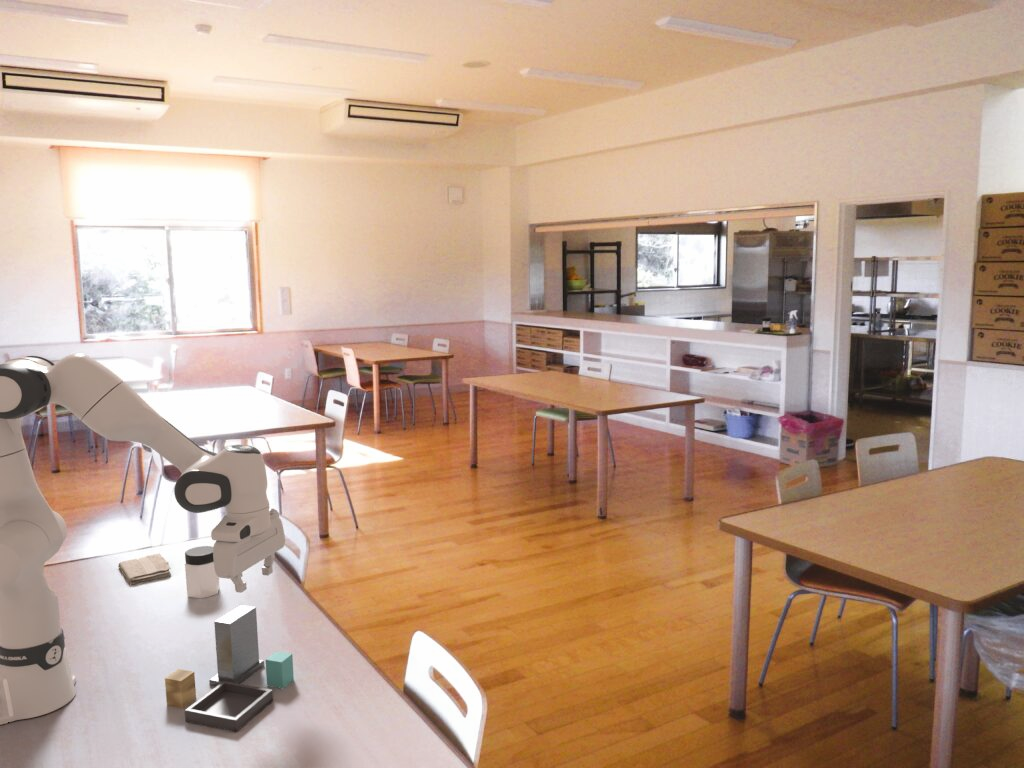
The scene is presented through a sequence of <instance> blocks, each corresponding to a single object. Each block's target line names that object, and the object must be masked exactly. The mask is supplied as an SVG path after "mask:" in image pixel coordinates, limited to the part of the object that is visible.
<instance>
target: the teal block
mask: <svg viewBox="0 0 1024 768" xmlns="http://www.w3.org/2000/svg"><path fill="white" fill-rule="evenodd" d="M293 661H294V660H293V653H289V652H285V651H284V652H283V651H275V652H273V653H272V654H271V655H269V656H268V657H267V658H265V675H266V676H265V677H266V686H267V685H268V686H267V687H271V686H274V687H273V688H277V687H280V688H279V689H282V688H283V689H284V688H286V687H287V686H288V685H289V684H290V683H292V682H293V681H294V679H295V678H294V662H293ZM291 681H292V682H291ZM286 685H287V686H286ZM285 686H286V687H285Z"/></svg>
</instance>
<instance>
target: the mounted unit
mask: <svg viewBox="0 0 1024 768" xmlns="http://www.w3.org/2000/svg"><path fill="white" fill-rule="evenodd" d="M213 622H214V638H215V651H216V666H217V667H216V668H217V673H216V674H215V675H214V676H212V677H211V678H209V681H208V682H209V685H210V686H214V687H216V686H218V685H219V684H221V683H222V682H223V681H227V682H232V683H238V684H243V682H244V681H246V680H247V679H249V678H250V677H251V676H252V675H254V674H255V673H256V672H258V671H259V670H260V669H261V668H262V666H263V665H264V666H265V660H264V659H260V653H259V651H260V650H259V636H258V618H257V607H256V606H251V605H244V604H239V605H238V606H237V607H235V608H234V609H233V608H232V609H231V610H230V611H229V612H227V613H226V614H224V615H222V616H221V617H219V618H217V619H216V620H215V621H213ZM264 666H263V667H264ZM258 669H259V670H258ZM254 672H255V673H254ZM253 673H254V674H253ZM249 676H250V677H249Z"/></svg>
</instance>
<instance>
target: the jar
mask: <svg viewBox="0 0 1024 768" xmlns="http://www.w3.org/2000/svg"><path fill="white" fill-rule="evenodd" d="M213 547H214V546H212V545H203V546H196V547H192V548H190V549H188V550H186V551H185V552H184V558H185V563H184V568H185V569H184V571H185V581H186V582H185V584H186V596H187V597H188V598H193V599H194V598H195V599H206V598H208V597H211V596H212V595H213V596H215V595H218V593H219V590H220V577H218V576H217V575H216V573H215V568H214V559H213Z"/></svg>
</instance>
